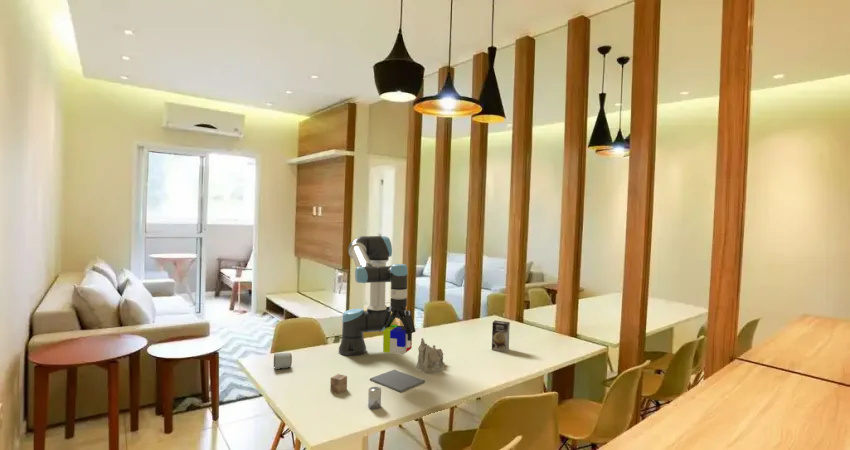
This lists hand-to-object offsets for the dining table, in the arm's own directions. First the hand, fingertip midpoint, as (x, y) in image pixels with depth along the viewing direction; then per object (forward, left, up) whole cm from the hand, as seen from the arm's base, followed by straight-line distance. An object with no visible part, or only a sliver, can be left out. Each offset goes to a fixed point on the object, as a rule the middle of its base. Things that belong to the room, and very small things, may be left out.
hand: (397, 344), depth 195 cm
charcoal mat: (0, 0, -17) cm, 17 cm away
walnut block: (-11, -25, -17) cm, 32 cm away
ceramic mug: (-54, -27, -17) cm, 63 cm away
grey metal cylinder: (+12, -25, -17) cm, 33 cm away
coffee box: (+10, +75, -17) cm, 78 cm away
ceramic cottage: (0, +26, -17) cm, 31 cm away
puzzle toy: (0, 0, -3) cm, 3 cm away
